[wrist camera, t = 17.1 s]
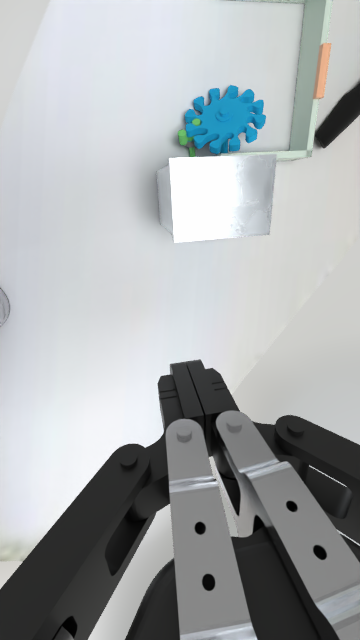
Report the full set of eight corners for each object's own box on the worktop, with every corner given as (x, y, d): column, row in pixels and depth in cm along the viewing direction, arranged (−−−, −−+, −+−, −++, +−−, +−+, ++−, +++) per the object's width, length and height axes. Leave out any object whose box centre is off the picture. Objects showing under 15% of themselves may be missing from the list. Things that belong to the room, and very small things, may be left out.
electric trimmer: (303, 135, 41) (317, 131, 38) (391, 39, 37) (413, 27, 34) (316, 156, 42) (330, 154, 39) (402, 65, 39) (423, 56, 36)
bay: (211, 163, 39) (222, 160, 35) (211, -11, 32) (226, -45, 27) (293, 160, 41) (315, 156, 37) (312, -6, 34) (342, -37, 29)
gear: (252, 70, 34) (278, 127, 31) (248, 116, 40) (270, 168, 37) (167, 98, 35) (185, 156, 32) (175, 140, 41) (191, 192, 38)
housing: (158, 226, 42) (174, 242, 28) (153, 167, 38) (169, 154, 25) (226, 221, 43) (271, 234, 30) (227, 163, 40) (278, 150, 27)
